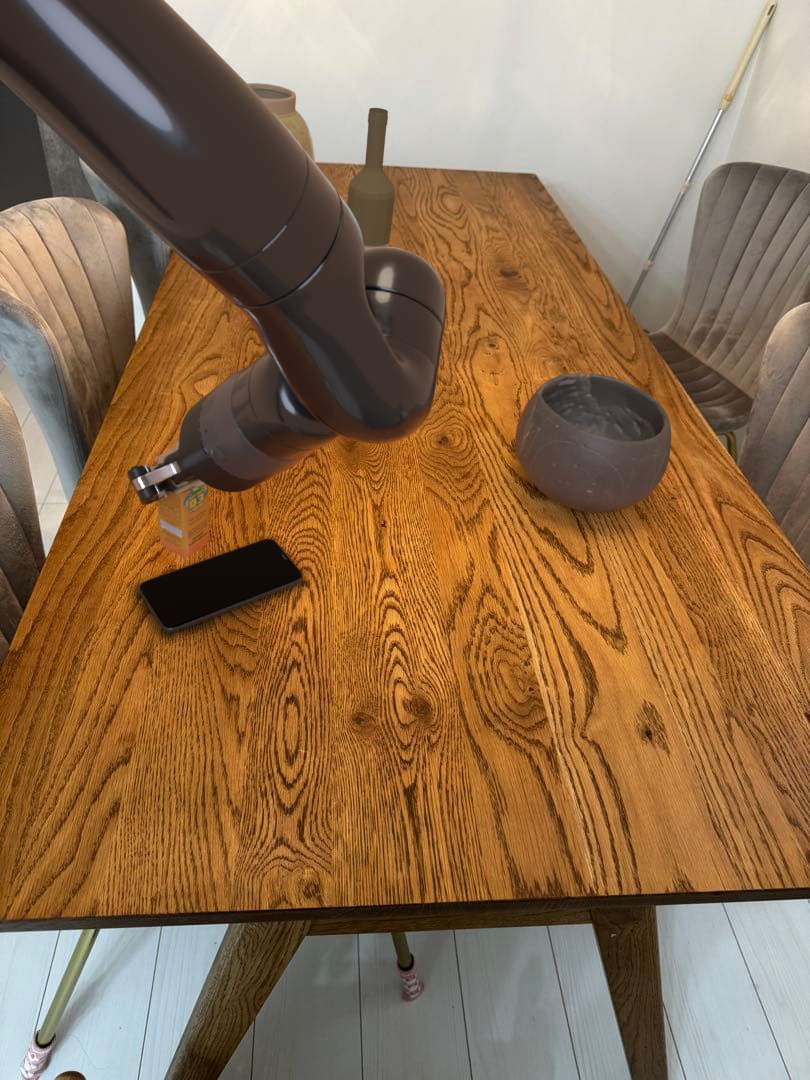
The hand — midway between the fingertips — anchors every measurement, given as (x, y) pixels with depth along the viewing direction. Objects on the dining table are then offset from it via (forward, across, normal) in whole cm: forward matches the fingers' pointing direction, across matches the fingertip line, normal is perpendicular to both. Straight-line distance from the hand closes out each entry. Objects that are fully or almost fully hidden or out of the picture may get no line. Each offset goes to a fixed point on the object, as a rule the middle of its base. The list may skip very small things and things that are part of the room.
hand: (169, 482), depth 72 cm
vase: (+51, -56, -32) cm, 82 cm away
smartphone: (+8, -3, +11) cm, 14 cm away
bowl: (-1, -47, +20) cm, 51 cm away
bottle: (+34, -57, -15) cm, 68 cm away
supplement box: (+3, 0, +6) cm, 7 cm away
